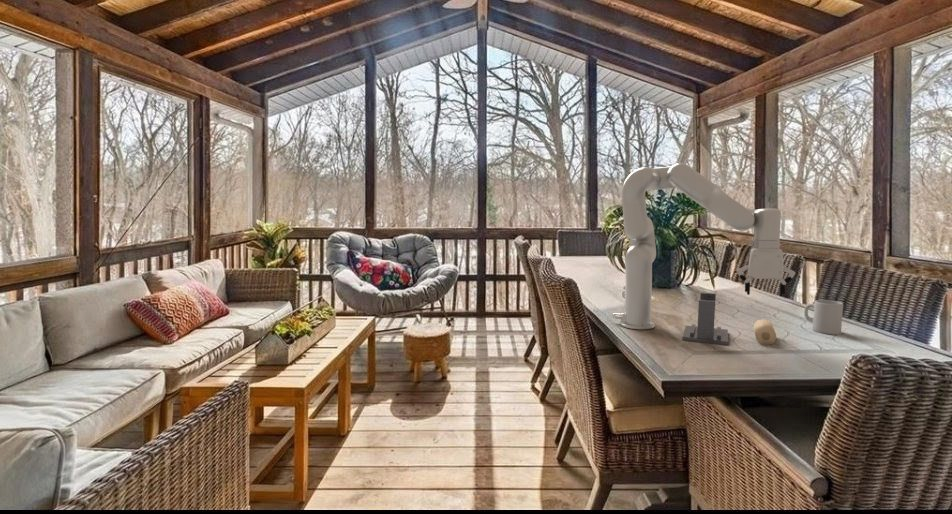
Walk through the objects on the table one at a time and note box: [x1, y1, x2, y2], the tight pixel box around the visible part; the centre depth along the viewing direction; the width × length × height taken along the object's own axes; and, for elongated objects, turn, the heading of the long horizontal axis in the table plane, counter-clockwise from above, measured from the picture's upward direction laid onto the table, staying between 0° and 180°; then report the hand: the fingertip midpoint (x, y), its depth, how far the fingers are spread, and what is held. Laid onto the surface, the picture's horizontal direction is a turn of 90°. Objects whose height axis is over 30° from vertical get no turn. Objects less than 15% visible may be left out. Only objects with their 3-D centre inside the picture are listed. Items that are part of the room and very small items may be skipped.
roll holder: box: [682, 292, 729, 346], centre depth 174 cm, size 14×17×14 cm
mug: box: [803, 299, 844, 336], centre depth 182 cm, size 12×8×11 cm
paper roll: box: [753, 318, 777, 346], centre depth 170 cm, size 12×6×6 cm, turn 154°
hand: (764, 294), depth 169 cm, fingers open, 9 cm apart
